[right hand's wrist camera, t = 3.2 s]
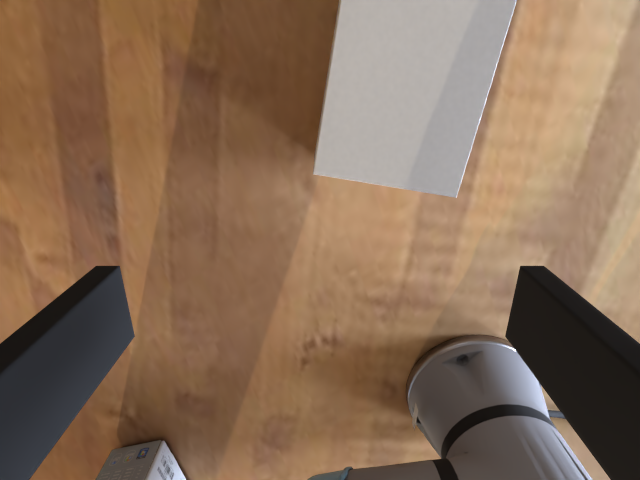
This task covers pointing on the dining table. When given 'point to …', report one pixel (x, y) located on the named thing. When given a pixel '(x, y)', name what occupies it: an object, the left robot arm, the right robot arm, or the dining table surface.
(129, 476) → the hard drive box
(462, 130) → the cabinet
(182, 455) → the dining table surface
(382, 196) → the dining table surface
